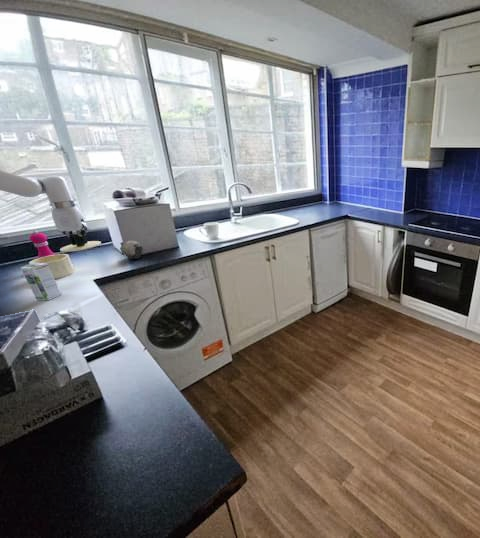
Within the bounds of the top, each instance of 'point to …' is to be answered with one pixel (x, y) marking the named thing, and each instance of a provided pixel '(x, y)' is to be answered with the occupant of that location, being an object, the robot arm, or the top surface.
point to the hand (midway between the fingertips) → (80, 243)
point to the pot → (57, 264)
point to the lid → (79, 245)
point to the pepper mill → (41, 244)
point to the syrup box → (41, 281)
